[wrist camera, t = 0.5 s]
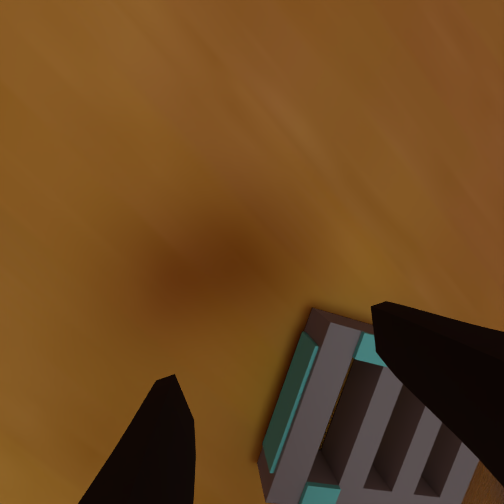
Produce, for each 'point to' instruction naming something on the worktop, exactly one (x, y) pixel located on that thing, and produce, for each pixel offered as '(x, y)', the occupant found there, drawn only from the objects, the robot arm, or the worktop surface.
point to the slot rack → (356, 429)
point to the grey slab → (483, 488)
